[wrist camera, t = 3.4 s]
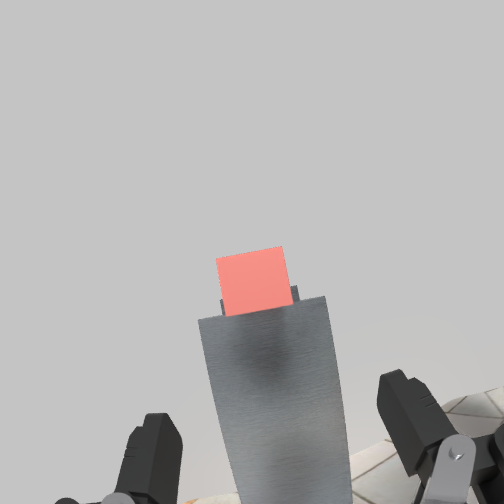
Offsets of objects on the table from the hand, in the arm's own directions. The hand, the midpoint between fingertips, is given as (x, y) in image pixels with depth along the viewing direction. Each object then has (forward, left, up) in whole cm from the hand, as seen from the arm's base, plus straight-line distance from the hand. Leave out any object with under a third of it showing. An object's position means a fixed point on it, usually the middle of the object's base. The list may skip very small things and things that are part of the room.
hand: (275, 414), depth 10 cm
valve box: (0, -23, -28) cm, 36 cm away
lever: (0, -19, +4) cm, 19 cm away
